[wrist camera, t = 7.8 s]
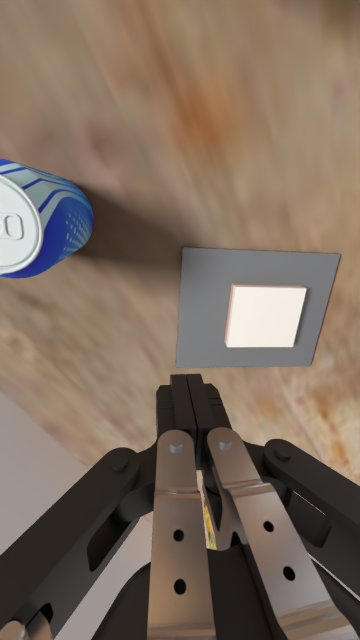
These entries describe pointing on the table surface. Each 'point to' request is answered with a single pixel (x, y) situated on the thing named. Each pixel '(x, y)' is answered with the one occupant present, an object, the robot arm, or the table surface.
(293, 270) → the mat
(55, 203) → the beer can
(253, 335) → the tile
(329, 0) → the table surface
